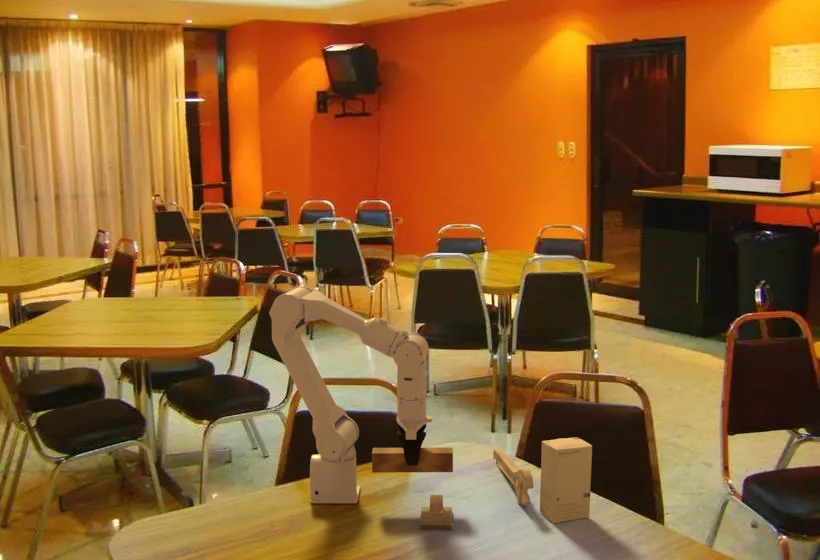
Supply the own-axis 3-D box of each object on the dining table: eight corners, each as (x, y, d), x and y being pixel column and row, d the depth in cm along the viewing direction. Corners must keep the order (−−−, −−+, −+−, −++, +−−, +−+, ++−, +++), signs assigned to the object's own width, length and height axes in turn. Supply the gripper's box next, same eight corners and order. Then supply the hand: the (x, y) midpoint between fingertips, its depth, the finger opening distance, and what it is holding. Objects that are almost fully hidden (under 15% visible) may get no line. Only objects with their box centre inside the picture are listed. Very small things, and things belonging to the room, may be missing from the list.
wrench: (500, 471, 204) (534, 514, 175) (493, 472, 204) (525, 515, 174) (500, 436, 204) (533, 473, 174) (492, 437, 204) (524, 474, 174)
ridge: (420, 530, 169) (420, 512, 169) (421, 511, 177) (421, 494, 177) (452, 530, 169) (452, 512, 169) (451, 511, 177) (451, 495, 176)
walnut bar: (372, 472, 179) (371, 453, 178) (373, 466, 181) (373, 447, 181) (453, 472, 178) (452, 453, 177) (452, 466, 181) (452, 447, 180)
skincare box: (553, 524, 171) (554, 450, 168) (538, 511, 177) (539, 440, 174) (591, 517, 174) (593, 444, 171) (575, 505, 180) (577, 434, 177)
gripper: (431, 408, 170) (432, 475, 172) (432, 385, 184) (432, 448, 186) (394, 407, 170) (395, 475, 172) (397, 385, 184) (398, 448, 187)
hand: (412, 461), depth 179 cm, fingers closed on walnut bar, 3 cm apart
